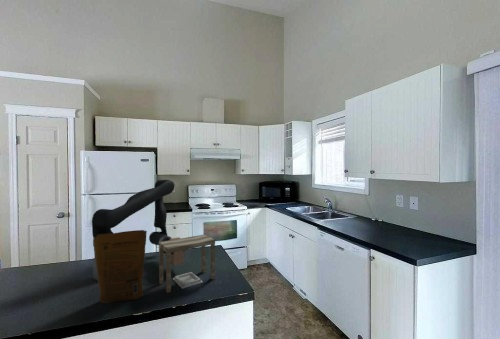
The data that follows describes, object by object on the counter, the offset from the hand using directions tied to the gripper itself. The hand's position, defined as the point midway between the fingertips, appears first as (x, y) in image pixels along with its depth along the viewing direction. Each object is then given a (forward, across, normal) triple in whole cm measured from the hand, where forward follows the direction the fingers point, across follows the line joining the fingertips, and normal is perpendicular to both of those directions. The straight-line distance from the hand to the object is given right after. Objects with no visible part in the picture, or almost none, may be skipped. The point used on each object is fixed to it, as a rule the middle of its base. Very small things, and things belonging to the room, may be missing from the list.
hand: (178, 251), depth 126 cm
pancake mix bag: (+11, -28, +12) cm, 32 cm away
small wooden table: (+11, 0, +11) cm, 16 cm away
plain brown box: (-3, 0, +7) cm, 7 cm away
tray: (+11, 0, +11) cm, 16 cm away
